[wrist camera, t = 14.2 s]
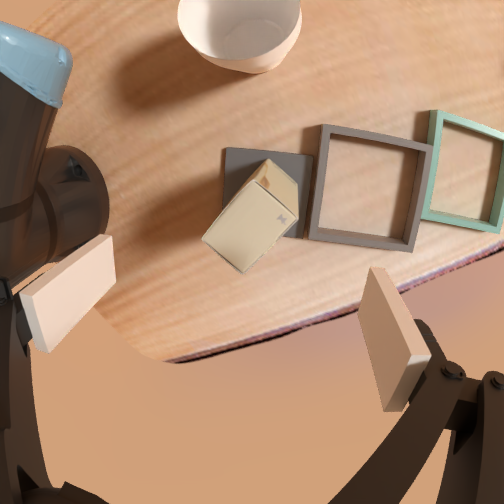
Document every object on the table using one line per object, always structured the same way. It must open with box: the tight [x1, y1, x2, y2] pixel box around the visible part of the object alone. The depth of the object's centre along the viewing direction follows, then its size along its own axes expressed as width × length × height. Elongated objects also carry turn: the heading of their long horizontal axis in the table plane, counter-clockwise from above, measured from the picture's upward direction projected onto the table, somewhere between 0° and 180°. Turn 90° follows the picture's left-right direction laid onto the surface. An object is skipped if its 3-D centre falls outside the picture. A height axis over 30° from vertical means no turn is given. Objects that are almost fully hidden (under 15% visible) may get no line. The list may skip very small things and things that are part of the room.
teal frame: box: [421, 110, 504, 234], centre depth 29 cm, size 12×12×2 cm
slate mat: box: [222, 147, 313, 239], centre depth 34 cm, size 9×9×1 cm
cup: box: [178, 0, 302, 74], centre depth 23 cm, size 9×9×12 cm
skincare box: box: [201, 159, 299, 274], centre depth 28 cm, size 6×4×12 cm
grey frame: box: [308, 124, 434, 253], centre depth 32 cm, size 12×12×2 cm
